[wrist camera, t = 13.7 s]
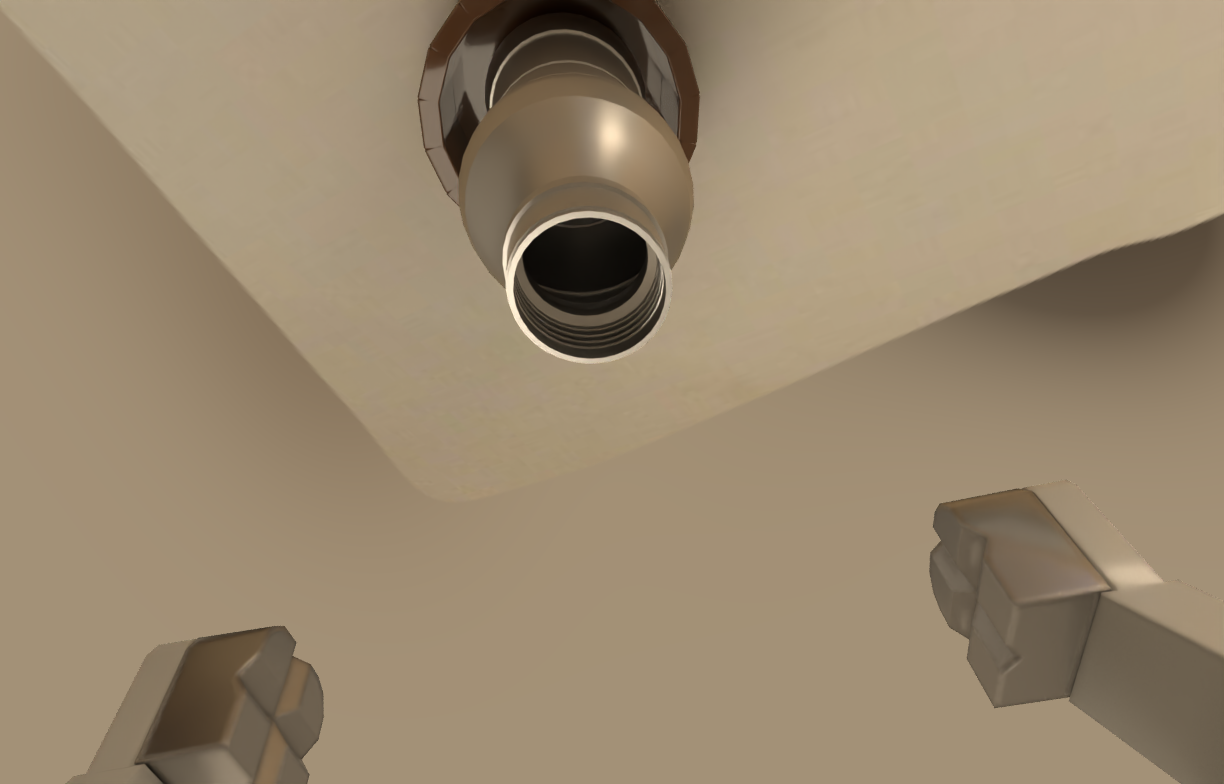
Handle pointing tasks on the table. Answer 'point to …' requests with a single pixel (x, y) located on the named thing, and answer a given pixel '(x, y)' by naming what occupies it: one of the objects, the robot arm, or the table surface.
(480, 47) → the cup
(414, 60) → the table surface
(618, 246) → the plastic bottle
